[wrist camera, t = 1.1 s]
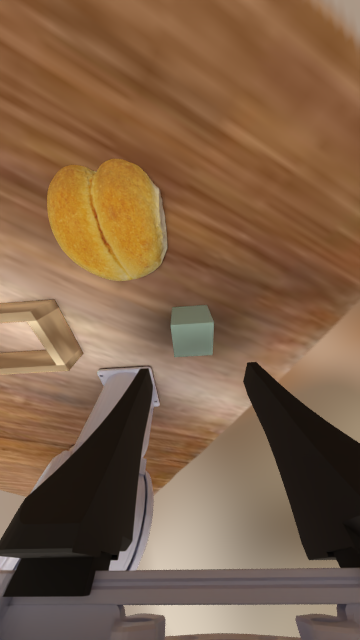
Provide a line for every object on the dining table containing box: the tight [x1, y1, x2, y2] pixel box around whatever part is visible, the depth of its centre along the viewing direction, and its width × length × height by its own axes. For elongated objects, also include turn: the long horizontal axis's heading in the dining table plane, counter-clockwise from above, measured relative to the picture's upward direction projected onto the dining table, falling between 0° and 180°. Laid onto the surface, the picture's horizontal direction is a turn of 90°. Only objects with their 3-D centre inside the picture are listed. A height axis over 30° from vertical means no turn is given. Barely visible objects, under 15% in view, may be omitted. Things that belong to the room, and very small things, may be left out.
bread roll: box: [47, 159, 167, 281], centre depth 12 cm, size 8×9×4 cm
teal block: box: [171, 305, 214, 357], centre depth 16 cm, size 4×4×4 cm
